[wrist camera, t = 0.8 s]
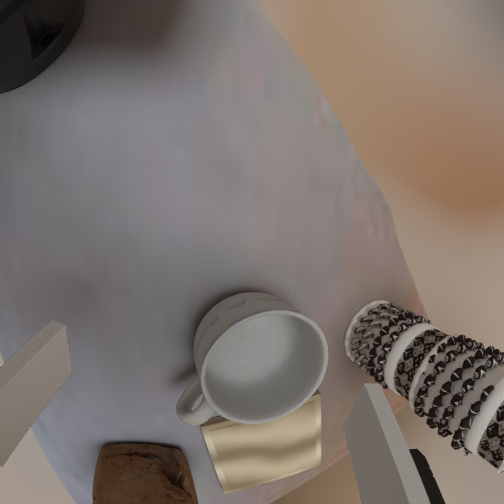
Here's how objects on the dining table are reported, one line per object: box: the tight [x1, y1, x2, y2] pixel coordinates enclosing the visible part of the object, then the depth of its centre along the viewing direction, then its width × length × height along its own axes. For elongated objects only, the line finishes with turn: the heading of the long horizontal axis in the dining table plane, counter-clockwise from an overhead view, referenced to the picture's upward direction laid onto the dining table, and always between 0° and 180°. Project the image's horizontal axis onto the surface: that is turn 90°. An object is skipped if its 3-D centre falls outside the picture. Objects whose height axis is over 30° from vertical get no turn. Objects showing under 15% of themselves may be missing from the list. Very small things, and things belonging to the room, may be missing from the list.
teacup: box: [176, 292, 328, 426], centre depth 26 cm, size 14×11×8 cm
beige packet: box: [200, 390, 321, 494], centre depth 33 cm, size 14×14×1 cm
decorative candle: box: [344, 300, 504, 474], centre depth 23 cm, size 9×9×25 cm
